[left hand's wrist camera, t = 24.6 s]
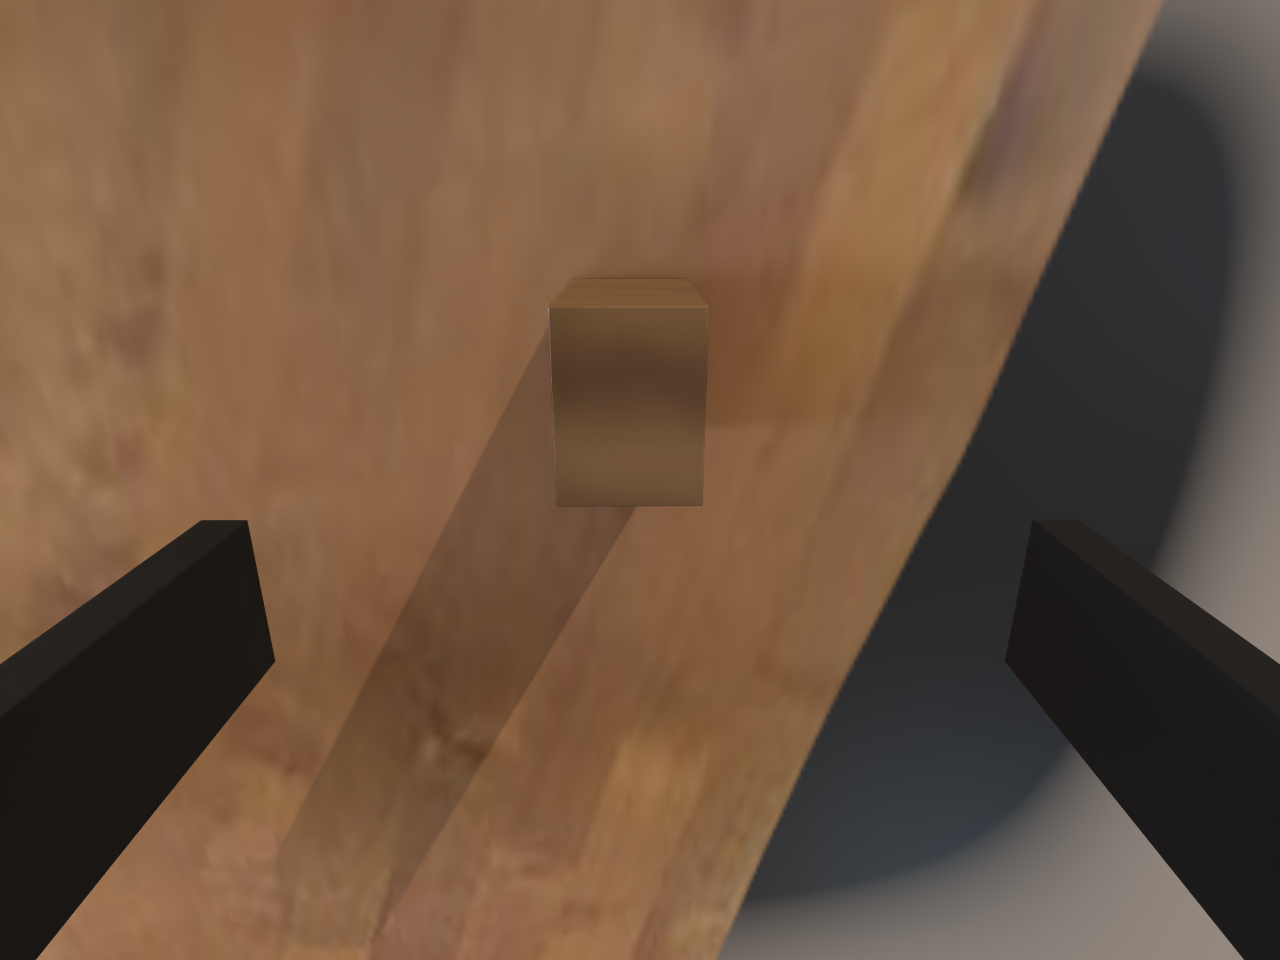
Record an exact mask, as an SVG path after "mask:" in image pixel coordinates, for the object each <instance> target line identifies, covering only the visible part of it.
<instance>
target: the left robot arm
mask: <svg viewBox="0 0 1280 960" xmlns="http://www.w3.org/2000/svg"><path fill="white" fill-rule="evenodd" d="M274 662H275V658H274V653H273V648H272V643H271V638H270V633H269V627H268V622H267V617H266V612H265V607H264V602H263V597H262V592H261V587H260V582H259V577H258V572H257V567H256V562H255V557H254V552H253V547H252V542H251V537H250V532H249V527H248V521H247V520H201V521H200V522H198V523H197V524H196V525H194V526H193V527H191V528H190V529H189V530H187V531H186V532H184V533H183V534H182V535H180V536H179V537H177V538H176V539H175V540H173V541H172V542H170V543H169V544H168V545H166V546H165V547H163V548H162V549H161V550H159V551H158V552H156V553H155V554H154V555H152V556H151V557H149V558H148V559H147V560H145V561H144V562H143V563H141V564H140V565H138V566H137V567H136V568H134V569H133V570H131V571H130V572H129V573H127V574H126V575H124V576H123V577H122V578H120V579H119V580H117V581H116V582H115V583H113V584H112V585H110V586H109V587H108V588H106V589H105V590H103V591H102V592H101V593H99V594H98V595H96V596H95V597H94V598H92V599H91V600H89V601H88V602H87V603H85V604H84V605H82V606H81V607H80V608H78V609H77V610H75V611H74V612H73V613H71V614H70V615H68V616H67V617H66V618H64V619H63V620H61V621H60V622H59V623H57V624H56V625H54V626H53V627H52V628H50V629H49V630H47V631H46V632H45V633H43V634H42V635H40V636H39V637H38V638H36V639H35V640H34V641H32V642H31V643H29V644H28V645H27V646H25V647H24V648H22V649H21V650H20V651H18V652H17V653H15V654H14V655H13V656H11V657H10V658H8V659H7V660H6V661H4V662H3V663H1V664H0V960H36V959H37V958H38V956H39V955H40V954H41V953H42V951H43V950H44V949H45V948H46V946H47V945H48V944H49V943H50V941H51V940H52V939H53V938H54V936H55V935H56V934H57V933H58V931H59V930H60V929H61V928H62V926H63V925H64V924H65V923H66V921H67V920H68V919H69V918H70V917H71V915H72V914H73V913H74V912H75V910H76V909H77V908H78V907H79V905H80V904H81V903H82V902H83V900H84V899H85V898H86V897H87V895H88V894H89V893H90V892H91V890H92V889H93V888H94V887H95V885H96V884H97V883H98V882H99V880H100V879H101V878H102V877H103V875H104V874H105V873H106V872H107V870H108V869H109V868H110V867H111V865H112V864H113V863H114V862H115V860H116V859H117V858H118V857H119V855H120V854H121V853H122V852H123V850H124V849H125V848H126V847H127V845H128V844H129V843H130V842H131V840H132V839H133V838H134V837H135V835H136V834H137V833H138V832H139V830H140V829H141V828H142V827H143V825H144V824H145V823H146V822H147V821H148V819H149V818H150V817H151V816H152V814H153V813H154V812H155V811H156V809H157V808H158V807H159V806H160V804H161V803H162V802H163V801H164V799H165V798H166V797H167V796H168V794H169V793H170V792H171V791H172V789H173V788H174V787H175V786H176V784H177V783H178V782H179V781H180V779H181V778H182V777H183V776H184V774H185V773H186V772H187V771H188V769H189V768H190V767H191V766H192V764H193V763H194V762H195V761H196V759H197V758H198V757H199V756H200V754H201V753H202V752H203V751H204V749H205V748H206V747H207V746H208V744H209V743H210V742H211V741H212V739H213V738H214V737H215V736H216V734H217V733H218V732H219V731H220V729H221V728H222V727H223V726H224V725H225V723H226V722H227V721H228V720H229V718H230V717H231V716H232V715H233V713H234V712H235V711H236V710H237V708H238V707H239V706H240V705H241V703H242V702H243V701H244V700H245V698H246V697H247V696H248V695H249V693H250V692H251V691H252V690H253V688H254V687H255V686H256V685H257V683H258V682H259V681H260V680H261V678H262V677H263V676H264V675H265V673H266V672H267V671H268V670H269V668H270V667H271V666H272V665H273V663H274ZM1005 662H1006V663H1007V665H1008V666H1009V667H1010V668H1011V670H1012V671H1013V672H1014V673H1015V675H1016V676H1017V677H1018V678H1019V680H1020V681H1021V682H1022V683H1023V685H1024V686H1025V687H1026V688H1027V690H1028V691H1029V692H1030V693H1031V695H1032V696H1033V697H1034V698H1035V700H1036V701H1037V702H1038V703H1039V705H1040V706H1041V707H1042V708H1043V710H1044V711H1045V712H1046V713H1047V715H1048V716H1049V717H1050V718H1051V719H1052V721H1053V722H1054V723H1055V724H1056V726H1057V727H1058V728H1059V729H1060V731H1061V732H1062V733H1063V734H1064V736H1065V737H1066V738H1067V739H1068V741H1069V742H1070V743H1071V744H1072V746H1073V747H1074V748H1075V749H1076V751H1077V752H1078V753H1079V754H1080V756H1081V757H1082V758H1083V759H1084V761H1085V762H1086V763H1087V764H1088V766H1089V767H1090V768H1091V769H1092V771H1093V772H1094V773H1095V774H1096V776H1097V777H1098V778H1099V779H1100V781H1101V782H1102V783H1103V784H1104V786H1105V787H1106V788H1107V789H1108V791H1109V792H1110V793H1111V794H1112V796H1113V797H1114V798H1115V799H1116V801H1117V802H1118V803H1119V804H1120V806H1121V807H1122V808H1123V809H1124V811H1125V812H1126V813H1127V814H1128V816H1129V817H1130V818H1131V819H1132V820H1133V822H1134V823H1135V824H1136V825H1137V827H1138V828H1139V829H1140V830H1141V832H1142V833H1143V834H1144V835H1145V837H1146V838H1147V839H1148V840H1149V842H1150V843H1151V844H1152V845H1153V847H1154V848H1155V849H1156V850H1157V852H1158V853H1159V854H1160V855H1161V857H1162V858H1163V859H1164V860H1165V862H1166V863H1167V864H1168V865H1169V867H1170V868H1171V869H1172V870H1173V872H1174V873H1175V874H1176V875H1177V877H1178V878H1179V879H1180V880H1181V882H1182V883H1183V884H1184V885H1185V887H1186V888H1187V889H1188V890H1189V892H1190V893H1191V894H1192V895H1193V897H1194V898H1195V899H1196V900H1197V902H1198V903H1199V904H1200V905H1201V907H1202V908H1203V909H1204V910H1205V912H1206V913H1207V914H1208V915H1209V917H1210V918H1211V919H1212V920H1213V921H1214V923H1215V924H1216V925H1217V926H1218V928H1219V929H1220V930H1221V931H1222V933H1223V934H1224V935H1225V936H1226V938H1227V939H1228V940H1229V941H1230V943H1231V944H1232V945H1233V946H1234V948H1235V949H1236V950H1237V951H1238V953H1239V954H1240V955H1241V956H1242V958H1243V959H1244V960H1280V664H1279V663H1277V662H1276V661H1274V660H1273V659H1272V658H1270V657H1269V656H1267V655H1266V654H1265V653H1263V652H1262V651H1260V650H1259V649H1258V648H1256V647H1255V646H1253V645H1252V644H1251V643H1249V642H1248V641H1246V640H1245V639H1244V638H1242V637H1241V636H1239V635H1238V634H1237V633H1235V632H1234V631H1233V630H1231V629H1230V628H1228V627H1227V626H1226V625H1224V624H1223V623H1221V622H1220V621H1218V620H1217V619H1216V618H1214V617H1213V616H1212V615H1210V614H1209V613H1207V612H1206V611H1205V610H1203V609H1202V608H1200V607H1199V606H1198V605H1196V604H1195V603H1193V602H1192V601H1191V600H1189V599H1188V598H1186V597H1185V596H1183V595H1182V594H1181V593H1179V592H1178V591H1177V590H1175V589H1174V588H1172V587H1171V586H1170V585H1168V584H1167V583H1165V582H1164V581H1163V580H1161V579H1160V578H1158V577H1157V576H1156V575H1154V574H1153V573H1151V572H1150V571H1149V570H1147V569H1146V568H1144V567H1143V566H1142V565H1140V564H1139V563H1137V562H1136V561H1135V560H1133V559H1132V558H1131V557H1129V556H1128V555H1126V554H1125V553H1124V552H1122V551H1121V550H1119V549H1118V548H1117V547H1115V546H1114V545H1112V544H1111V543H1110V542H1108V541H1107V540H1105V539H1104V538H1103V537H1101V536H1100V535H1098V534H1097V533H1096V532H1094V531H1093V530H1091V529H1090V528H1089V527H1087V526H1086V525H1084V524H1083V523H1082V522H1080V521H1079V520H1033V522H1032V527H1031V532H1030V537H1029V542H1028V547H1027V552H1026V557H1025V562H1024V567H1023V572H1022V577H1021V582H1020V587H1019V592H1018V597H1017V602H1016V607H1015V612H1014V618H1013V622H1012V627H1011V633H1010V638H1009V643H1008V648H1007V653H1006V658H1005Z"/></svg>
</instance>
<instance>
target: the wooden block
mask: <svg viewBox="0 0 1280 960" xmlns="http://www.w3.org/2000/svg"><path fill="white" fill-rule="evenodd" d="M708 315H709V307H708V305H707V304H706V303H705V301H704V300H703V299H702V298H701V296H700V295H699V294H698V292H697V291H696V290H695V288H694V287H693V286H692V285H691V283H690V282H689V281H688V279H572V280H571V281H570V282H569V283H568V284H567V285H566V287H565V288H564V289H563V290H562V291H561V292H560V293H559V295H558V296H557V297H556V298H555V299H554V300H553V302H552V303H551V304H550V305H549V306H548V323H549V347H550V371H551V395H552V419H553V443H554V467H555V491H556V506H702V505H703V476H704V444H705V412H706V379H707V347H708Z"/></svg>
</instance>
